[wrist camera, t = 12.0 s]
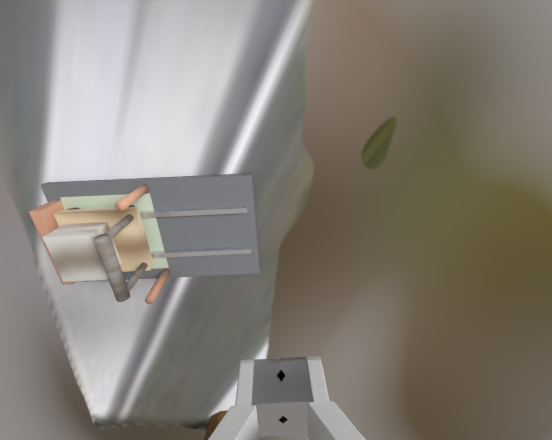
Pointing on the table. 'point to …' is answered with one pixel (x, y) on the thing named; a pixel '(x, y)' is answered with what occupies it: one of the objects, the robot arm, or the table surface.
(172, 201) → the dock mat
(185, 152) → the table surface
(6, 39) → the table surface
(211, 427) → the flowerpot
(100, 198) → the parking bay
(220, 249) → the rails
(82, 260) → the tan box with handle
